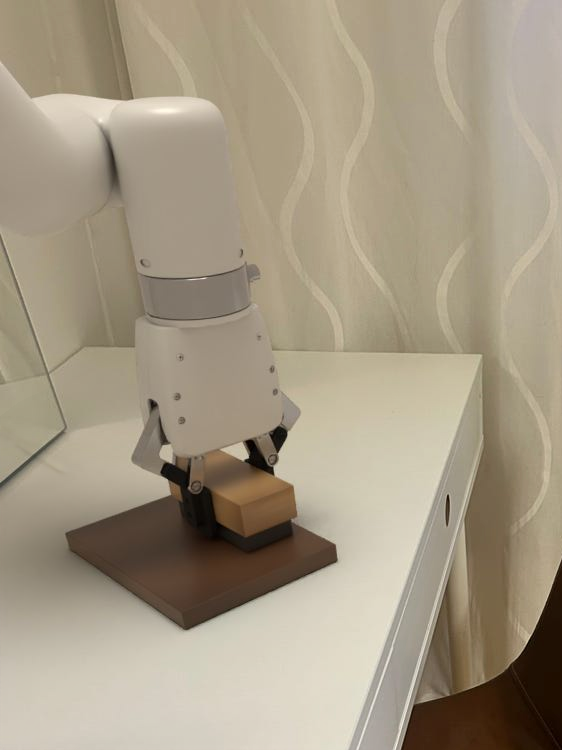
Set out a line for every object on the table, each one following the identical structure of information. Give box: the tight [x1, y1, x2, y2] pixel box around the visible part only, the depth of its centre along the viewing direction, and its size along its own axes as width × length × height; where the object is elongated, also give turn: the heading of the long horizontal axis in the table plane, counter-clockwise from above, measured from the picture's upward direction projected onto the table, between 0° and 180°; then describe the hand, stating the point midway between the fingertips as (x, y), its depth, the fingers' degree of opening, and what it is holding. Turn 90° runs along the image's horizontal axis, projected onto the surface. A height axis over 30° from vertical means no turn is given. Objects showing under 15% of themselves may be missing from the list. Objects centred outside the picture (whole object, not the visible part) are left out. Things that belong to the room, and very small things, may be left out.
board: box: [64, 494, 338, 630], centre depth 79 cm, size 18×14×2 cm
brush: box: [167, 449, 298, 552], centre depth 79 cm, size 11×5×4 cm, turn 45°
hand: (234, 517), depth 80 cm, fingers closed on brush, 5 cm apart
